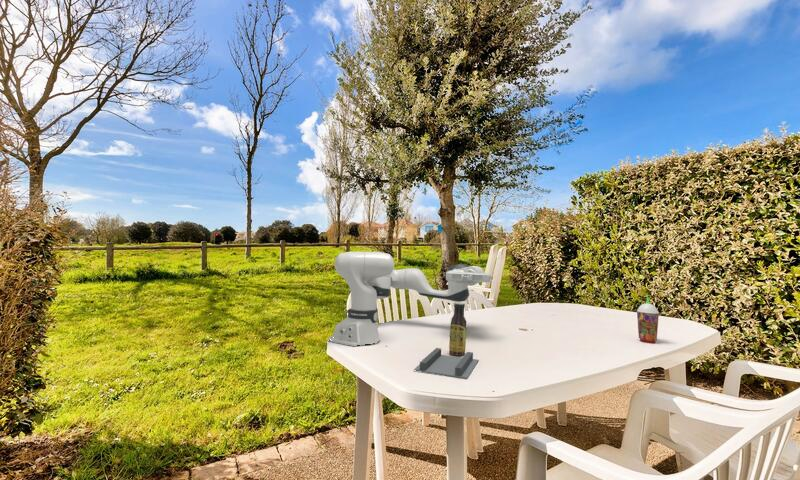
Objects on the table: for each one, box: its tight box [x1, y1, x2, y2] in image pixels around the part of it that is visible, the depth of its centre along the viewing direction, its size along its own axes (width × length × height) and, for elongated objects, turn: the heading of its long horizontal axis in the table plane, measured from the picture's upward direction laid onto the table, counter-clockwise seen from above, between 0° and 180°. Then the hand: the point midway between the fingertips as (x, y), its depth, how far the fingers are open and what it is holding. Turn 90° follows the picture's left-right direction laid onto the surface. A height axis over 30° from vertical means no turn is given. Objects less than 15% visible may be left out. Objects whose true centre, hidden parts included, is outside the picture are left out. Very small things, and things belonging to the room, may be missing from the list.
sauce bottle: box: [448, 302, 467, 357], centre depth 142 cm, size 7×6×20 cm
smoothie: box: [636, 297, 660, 344], centre depth 165 cm, size 8×8×20 cm
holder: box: [413, 347, 480, 380], centre depth 128 cm, size 18×20×3 cm
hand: (464, 278), depth 160 cm, fingers closed
